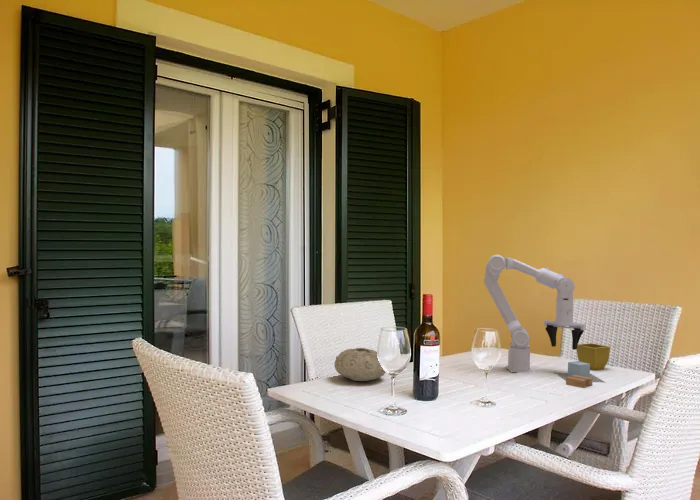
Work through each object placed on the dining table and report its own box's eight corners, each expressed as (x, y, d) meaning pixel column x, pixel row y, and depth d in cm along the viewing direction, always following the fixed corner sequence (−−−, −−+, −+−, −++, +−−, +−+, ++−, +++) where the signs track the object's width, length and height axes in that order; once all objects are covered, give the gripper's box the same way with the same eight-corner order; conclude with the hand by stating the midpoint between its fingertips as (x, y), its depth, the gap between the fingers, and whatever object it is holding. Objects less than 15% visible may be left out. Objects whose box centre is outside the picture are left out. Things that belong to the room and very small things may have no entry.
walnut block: (574, 383, 180) (574, 374, 180) (592, 387, 175) (592, 378, 175) (565, 386, 176) (566, 377, 176) (583, 390, 171) (584, 380, 171)
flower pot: (574, 367, 204) (575, 344, 204) (591, 365, 208) (591, 342, 208) (594, 372, 196) (594, 348, 196) (610, 370, 200) (610, 346, 200)
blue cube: (567, 376, 187) (568, 362, 187) (577, 375, 189) (577, 361, 189) (579, 379, 183) (579, 364, 183) (589, 378, 185) (589, 363, 185)
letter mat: (554, 373, 193) (554, 372, 193) (591, 374, 192) (591, 373, 192) (566, 382, 180) (566, 381, 180) (605, 383, 179) (605, 382, 179)
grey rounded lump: (397, 381, 178) (398, 351, 178) (356, 389, 167) (357, 356, 167) (363, 371, 192) (364, 343, 192) (323, 377, 181) (323, 348, 181)
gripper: (540, 309, 196) (539, 346, 196) (580, 312, 185) (579, 351, 185) (549, 308, 201) (548, 344, 201) (588, 311, 190) (587, 349, 190)
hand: (564, 347), depth 193 cm, fingers open, 7 cm apart
